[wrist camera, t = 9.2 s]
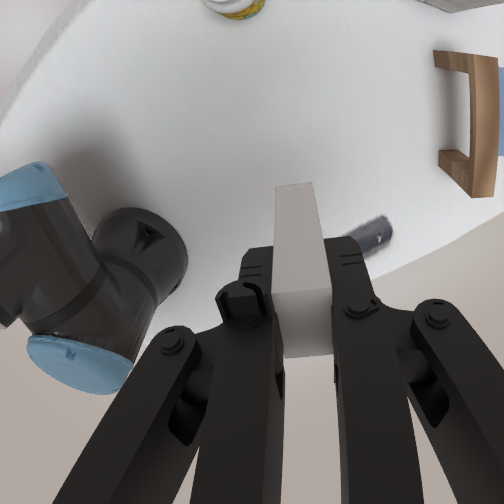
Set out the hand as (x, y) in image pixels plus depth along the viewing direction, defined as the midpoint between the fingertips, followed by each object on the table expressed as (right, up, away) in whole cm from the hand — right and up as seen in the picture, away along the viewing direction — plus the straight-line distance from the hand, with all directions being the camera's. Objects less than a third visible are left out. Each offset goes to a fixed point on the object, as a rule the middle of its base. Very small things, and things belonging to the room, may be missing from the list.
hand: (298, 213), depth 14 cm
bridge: (+21, +15, +16) cm, 30 cm away
